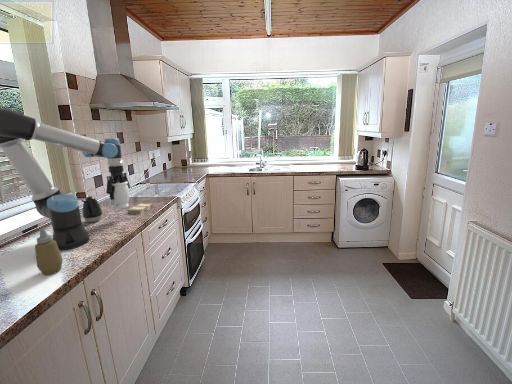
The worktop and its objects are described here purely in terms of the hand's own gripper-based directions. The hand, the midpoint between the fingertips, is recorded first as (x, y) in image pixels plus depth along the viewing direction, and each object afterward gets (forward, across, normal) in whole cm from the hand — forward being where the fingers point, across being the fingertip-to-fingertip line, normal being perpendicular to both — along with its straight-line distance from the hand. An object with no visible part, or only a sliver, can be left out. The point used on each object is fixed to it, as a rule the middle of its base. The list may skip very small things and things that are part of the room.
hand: (120, 202), depth 163 cm
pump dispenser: (+11, -5, +16) cm, 20 cm away
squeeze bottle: (+12, -59, -13) cm, 62 cm away
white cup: (+3, 0, 0) cm, 3 cm away
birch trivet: (+10, +17, -1) cm, 20 cm away
